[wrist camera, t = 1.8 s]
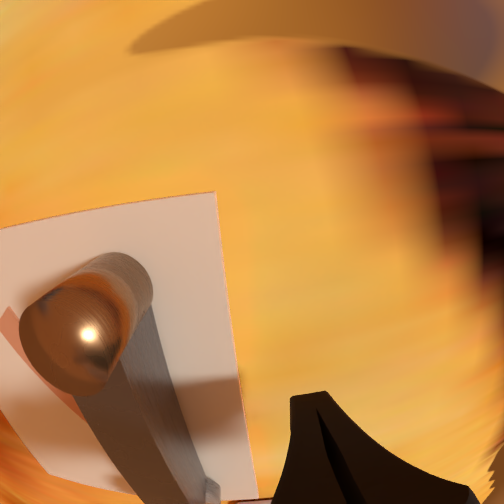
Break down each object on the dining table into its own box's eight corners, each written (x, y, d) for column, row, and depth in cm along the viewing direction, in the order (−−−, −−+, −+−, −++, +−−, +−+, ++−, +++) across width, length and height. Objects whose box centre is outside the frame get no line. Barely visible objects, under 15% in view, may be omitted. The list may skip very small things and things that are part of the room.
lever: (224, 498, 14) (225, 552, 10) (173, 496, 14) (166, 548, 10) (155, 247, 10) (102, 299, 6) (72, 256, 10) (-3, 303, 5)
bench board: (257, 488, 16) (258, 500, 15) (52, 466, 16) (47, 475, 14) (215, 191, 11) (213, 192, 10) (-54, 243, 10) (-66, 248, 9)
